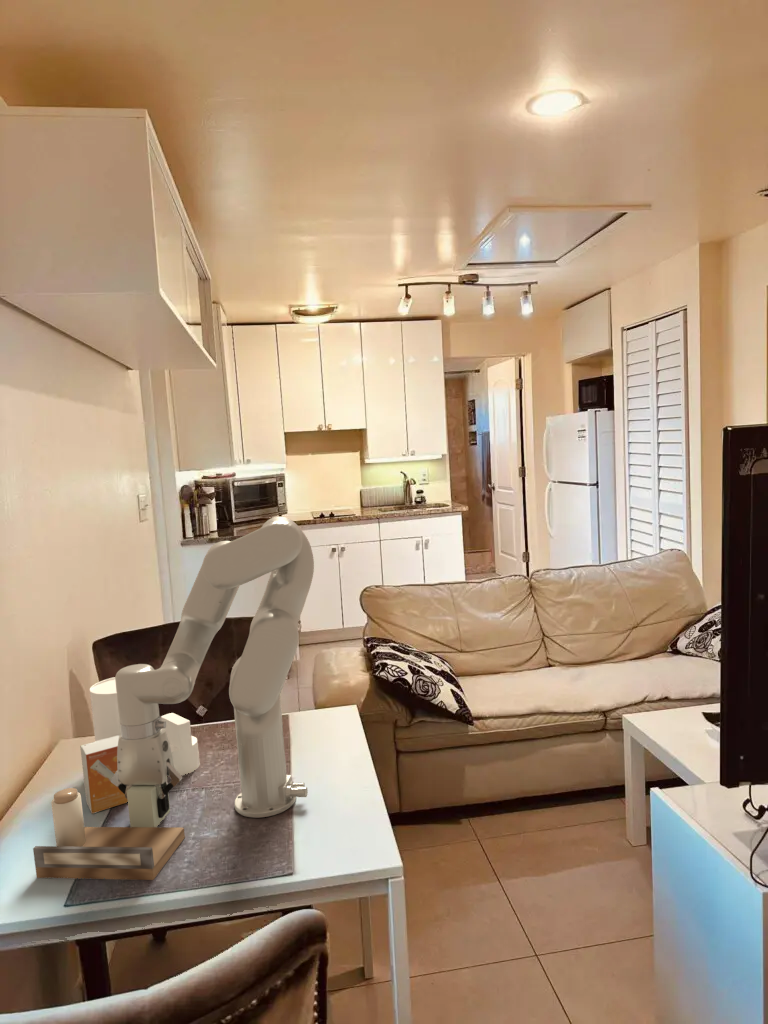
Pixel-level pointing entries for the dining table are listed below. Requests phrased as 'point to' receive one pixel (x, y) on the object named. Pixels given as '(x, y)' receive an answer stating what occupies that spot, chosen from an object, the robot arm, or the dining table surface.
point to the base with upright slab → (181, 743)
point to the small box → (101, 774)
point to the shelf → (111, 854)
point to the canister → (105, 709)
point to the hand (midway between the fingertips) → (149, 813)
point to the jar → (68, 818)
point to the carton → (143, 806)
